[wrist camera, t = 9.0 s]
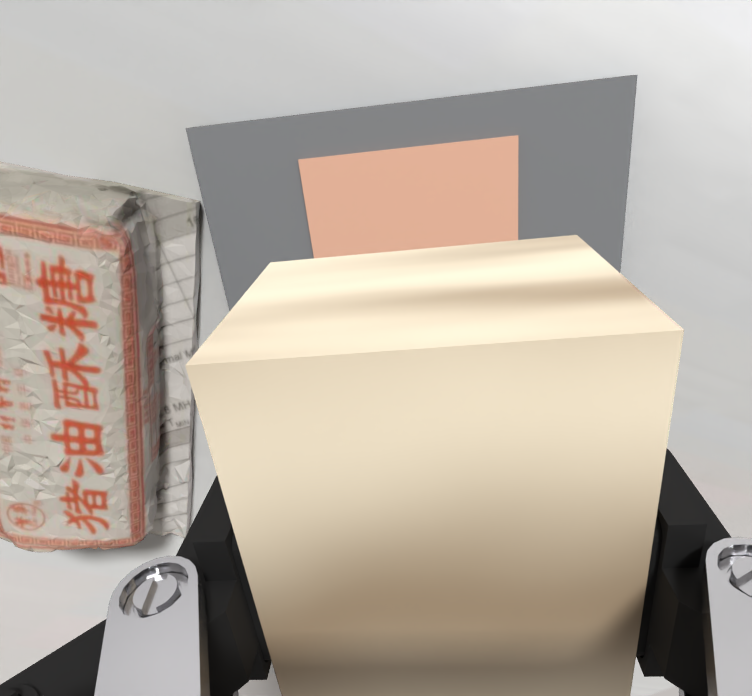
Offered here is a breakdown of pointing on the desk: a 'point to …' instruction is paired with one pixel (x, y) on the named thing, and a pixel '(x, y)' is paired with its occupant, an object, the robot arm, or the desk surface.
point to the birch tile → (444, 466)
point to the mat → (418, 176)
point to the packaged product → (95, 360)
